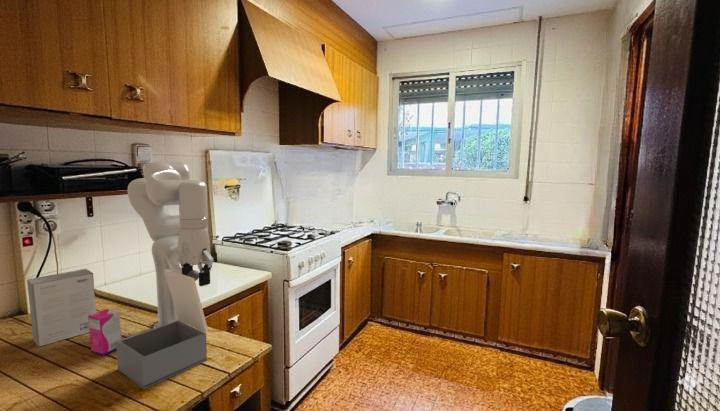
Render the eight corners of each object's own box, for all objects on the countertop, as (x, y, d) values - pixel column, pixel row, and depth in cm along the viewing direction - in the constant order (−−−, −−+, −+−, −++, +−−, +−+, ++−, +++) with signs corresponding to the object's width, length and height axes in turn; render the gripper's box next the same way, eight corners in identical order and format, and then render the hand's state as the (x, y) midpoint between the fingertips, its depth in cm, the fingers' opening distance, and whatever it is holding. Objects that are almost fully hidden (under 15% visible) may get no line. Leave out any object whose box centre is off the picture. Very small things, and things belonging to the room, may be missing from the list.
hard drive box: (91, 324, 126) (87, 268, 124) (98, 330, 121) (94, 272, 119) (31, 340, 114) (26, 278, 112) (36, 347, 109) (31, 283, 107)
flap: (163, 270, 106) (182, 261, 111) (178, 319, 111) (196, 309, 116) (191, 279, 98) (211, 270, 102) (206, 333, 103) (224, 321, 107)
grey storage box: (117, 369, 98) (116, 341, 97) (179, 344, 112) (178, 320, 111) (143, 389, 90) (142, 358, 89) (206, 360, 103) (206, 333, 103)
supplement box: (109, 343, 112) (107, 307, 111) (122, 347, 110) (120, 311, 109) (89, 352, 107) (87, 314, 106) (102, 356, 105) (100, 318, 104)
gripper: (165, 222, 107) (168, 279, 109) (198, 228, 97) (200, 291, 99) (190, 219, 113) (192, 273, 115) (223, 225, 103) (224, 284, 105)
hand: (196, 281), depth 107 cm, fingers open, 8 cm apart
